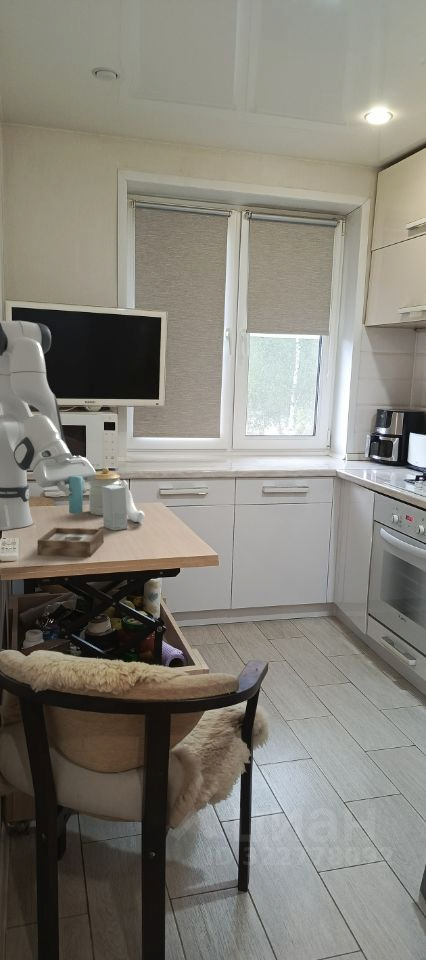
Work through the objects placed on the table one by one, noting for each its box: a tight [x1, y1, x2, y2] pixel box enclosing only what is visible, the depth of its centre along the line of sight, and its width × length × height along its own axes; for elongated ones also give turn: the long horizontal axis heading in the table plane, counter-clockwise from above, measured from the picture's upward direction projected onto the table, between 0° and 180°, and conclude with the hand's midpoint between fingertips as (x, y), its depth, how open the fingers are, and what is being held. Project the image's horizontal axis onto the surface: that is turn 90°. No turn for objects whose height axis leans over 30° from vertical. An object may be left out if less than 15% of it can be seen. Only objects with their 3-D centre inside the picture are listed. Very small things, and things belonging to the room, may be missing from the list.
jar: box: [88, 466, 123, 516], centre depth 250 cm, size 13×13×18 cm
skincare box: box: [102, 485, 128, 531], centre depth 226 cm, size 8×6×15 cm
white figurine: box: [122, 479, 146, 523], centre depth 235 cm, size 5×19×15 cm, turn 29°
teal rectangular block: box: [68, 476, 84, 515], centre depth 196 cm, size 4×4×11 cm
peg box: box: [37, 527, 105, 558], centre depth 199 cm, size 16×16×4 cm
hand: (77, 493), depth 195 cm, fingers closed on teal rectangular block, 4 cm apart
